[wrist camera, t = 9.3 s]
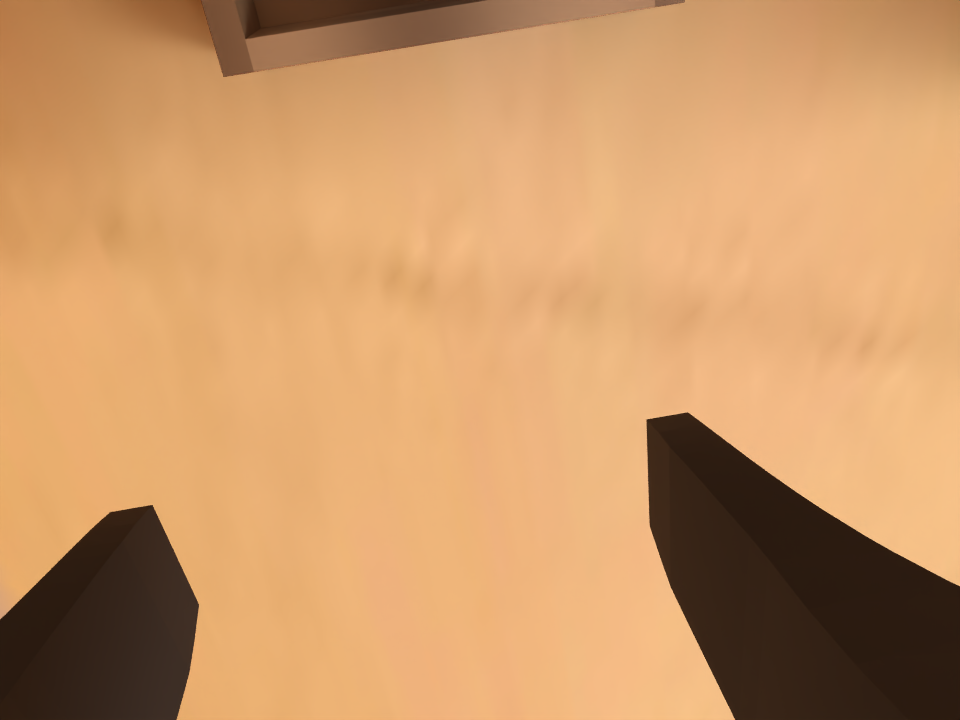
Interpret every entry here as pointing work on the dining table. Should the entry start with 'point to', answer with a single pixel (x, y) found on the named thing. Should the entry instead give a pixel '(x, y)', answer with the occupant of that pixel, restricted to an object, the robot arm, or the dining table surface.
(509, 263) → the dining table surface
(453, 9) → the walnut crate
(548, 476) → the dining table surface
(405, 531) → the dining table surface
